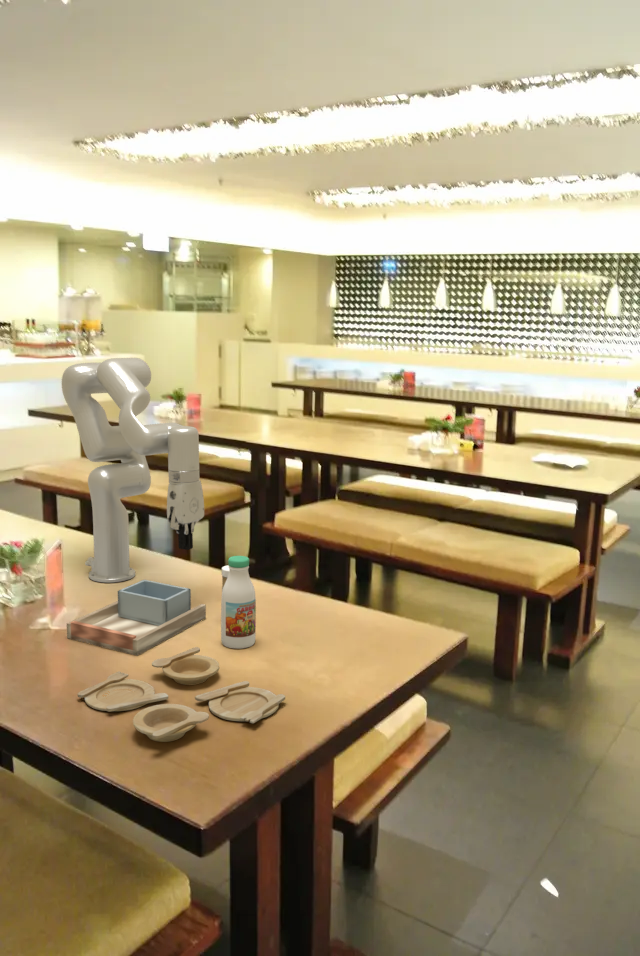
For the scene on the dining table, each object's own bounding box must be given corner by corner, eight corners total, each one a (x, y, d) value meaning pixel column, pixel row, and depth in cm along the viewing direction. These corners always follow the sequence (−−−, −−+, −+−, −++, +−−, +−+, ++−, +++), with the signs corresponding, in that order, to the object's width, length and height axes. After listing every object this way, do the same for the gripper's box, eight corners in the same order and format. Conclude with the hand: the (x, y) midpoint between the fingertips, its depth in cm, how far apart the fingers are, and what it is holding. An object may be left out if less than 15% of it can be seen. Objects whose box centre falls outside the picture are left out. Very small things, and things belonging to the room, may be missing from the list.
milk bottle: (214, 645, 186) (214, 559, 182) (233, 634, 193) (233, 551, 189) (243, 652, 183) (243, 565, 179) (261, 640, 189) (262, 556, 185)
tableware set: (299, 712, 157) (299, 692, 156) (169, 768, 136) (168, 745, 136) (190, 655, 181) (190, 638, 180) (66, 696, 161) (65, 676, 160)
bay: (67, 638, 188) (66, 621, 187) (140, 604, 211) (139, 589, 210) (137, 655, 179) (137, 638, 178) (205, 618, 202) (205, 602, 201)
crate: (118, 616, 199) (117, 590, 197) (144, 603, 208) (144, 579, 206) (165, 627, 193) (165, 601, 191) (190, 614, 201) (190, 588, 200)
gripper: (178, 482, 196) (180, 557, 199) (213, 473, 209) (214, 543, 213) (152, 480, 199) (155, 553, 203) (189, 470, 213) (190, 540, 216)
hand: (185, 548), depth 208 cm, fingers closed
